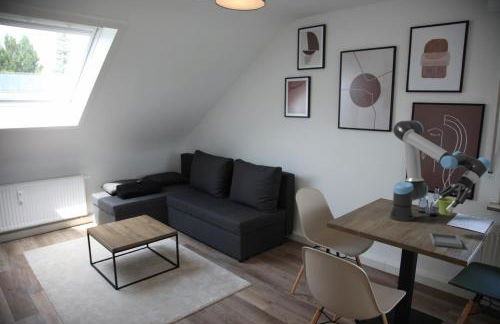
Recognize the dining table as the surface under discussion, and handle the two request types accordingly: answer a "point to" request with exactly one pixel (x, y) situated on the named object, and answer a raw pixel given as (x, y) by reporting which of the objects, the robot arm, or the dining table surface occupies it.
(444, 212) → the plant pot
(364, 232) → the dining table surface
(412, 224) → the dining table surface
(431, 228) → the dining table surface
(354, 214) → the dining table surface
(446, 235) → the tray
